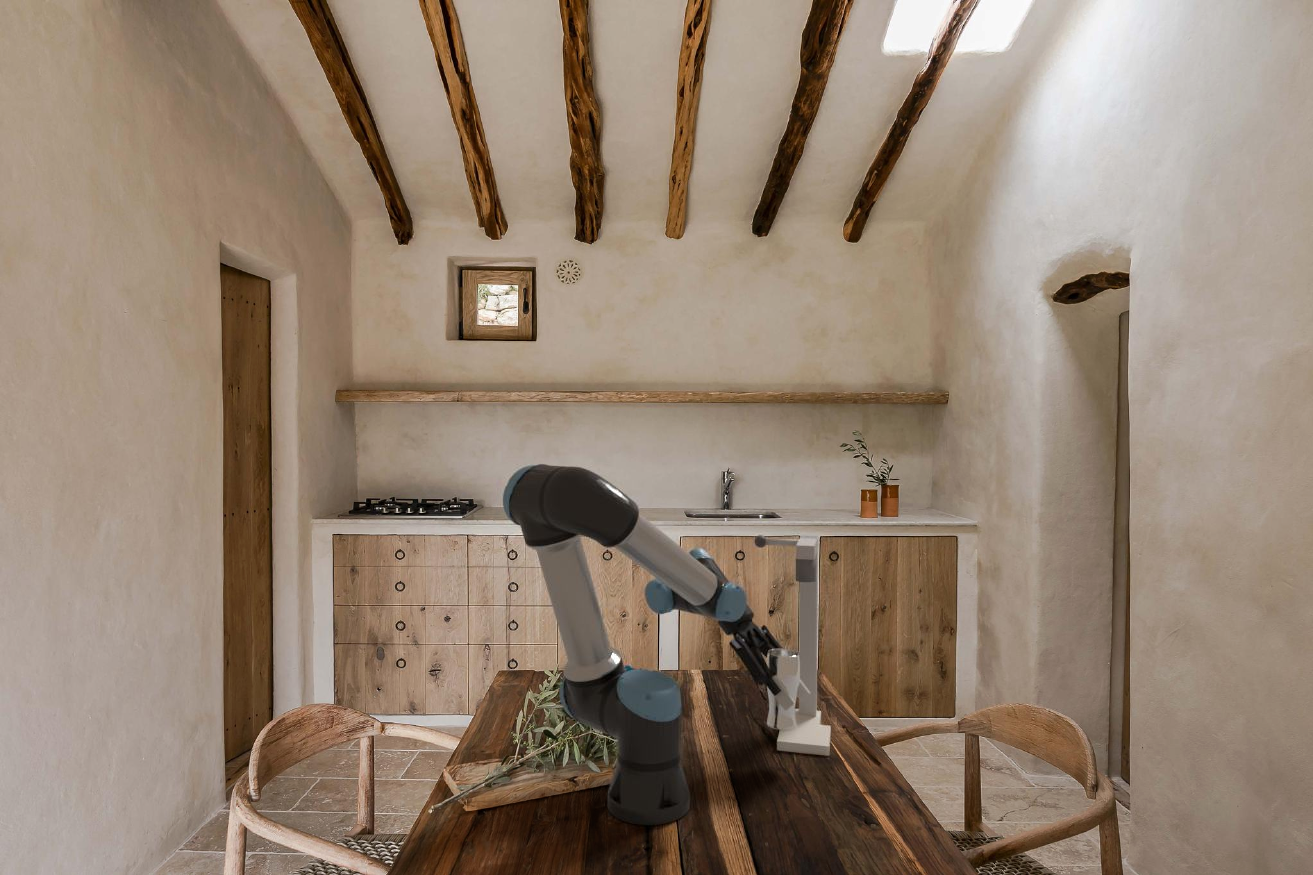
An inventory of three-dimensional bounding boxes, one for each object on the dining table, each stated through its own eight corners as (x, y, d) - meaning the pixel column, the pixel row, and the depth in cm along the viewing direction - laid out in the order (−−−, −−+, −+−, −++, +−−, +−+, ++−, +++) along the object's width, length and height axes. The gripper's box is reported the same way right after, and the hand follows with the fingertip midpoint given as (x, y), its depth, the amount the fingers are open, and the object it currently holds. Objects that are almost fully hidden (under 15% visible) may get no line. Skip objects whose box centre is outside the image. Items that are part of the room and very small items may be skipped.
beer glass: (762, 728, 156) (764, 655, 156) (767, 717, 163) (769, 646, 163) (796, 733, 154) (798, 658, 154) (800, 721, 161) (802, 649, 161)
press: (829, 755, 163) (830, 549, 163) (742, 746, 168) (743, 545, 167) (831, 720, 183) (832, 536, 183) (754, 712, 188) (755, 533, 188)
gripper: (740, 614, 176) (805, 699, 166) (695, 629, 159) (764, 725, 150) (762, 593, 173) (829, 679, 163) (718, 607, 157) (790, 704, 147)
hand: (798, 701), depth 157 cm, fingers closed on beer glass, 7 cm apart
